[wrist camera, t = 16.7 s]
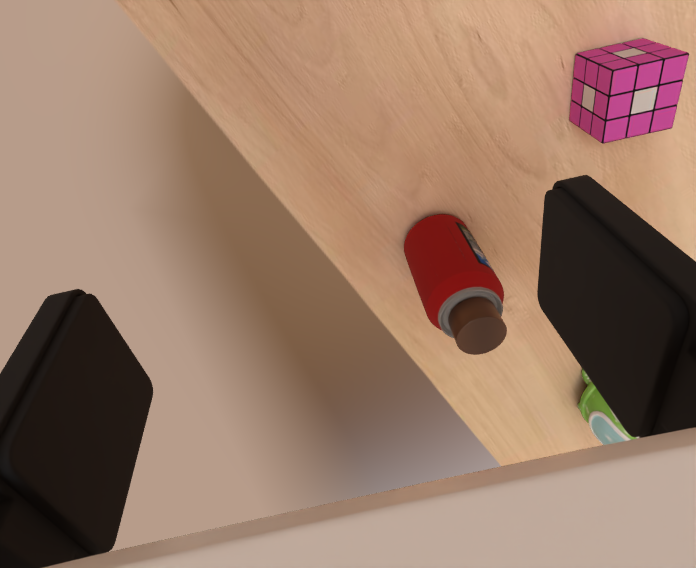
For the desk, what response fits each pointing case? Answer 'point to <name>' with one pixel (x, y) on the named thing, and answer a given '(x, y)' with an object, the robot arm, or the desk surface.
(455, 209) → the desk surface
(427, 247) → the beverage can
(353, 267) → the desk surface
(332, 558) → the robot arm
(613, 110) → the puzzle toy
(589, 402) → the turtle holder
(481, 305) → the dark brown cylinder
